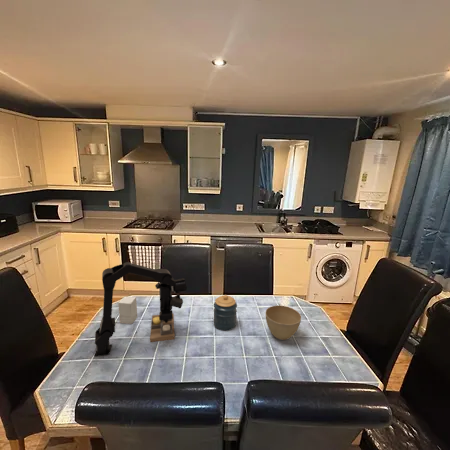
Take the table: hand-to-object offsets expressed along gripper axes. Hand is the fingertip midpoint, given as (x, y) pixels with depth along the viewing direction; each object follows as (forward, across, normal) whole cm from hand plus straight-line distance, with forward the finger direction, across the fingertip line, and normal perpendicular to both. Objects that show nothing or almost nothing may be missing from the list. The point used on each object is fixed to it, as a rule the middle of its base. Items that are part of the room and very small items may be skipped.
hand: (166, 322), depth 130 cm
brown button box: (+7, +6, +2) cm, 10 cm away
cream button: (+5, 0, 0) cm, 5 cm away
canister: (+8, +4, -32) cm, 33 cm away
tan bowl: (+8, -12, -59) cm, 61 cm away
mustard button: (+4, +6, +5) cm, 9 cm away
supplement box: (+7, +17, +21) cm, 28 cm away
